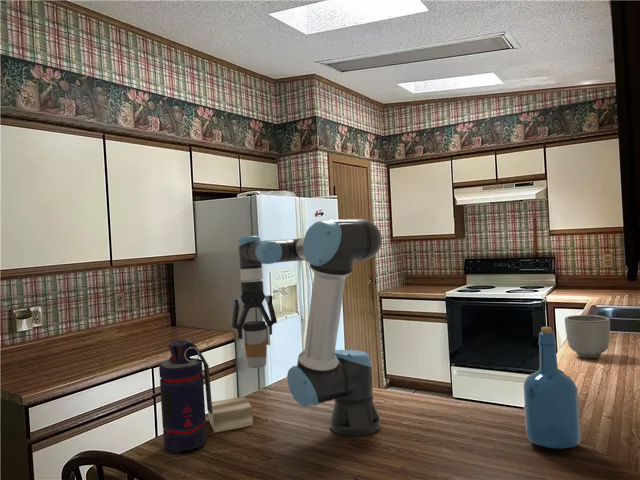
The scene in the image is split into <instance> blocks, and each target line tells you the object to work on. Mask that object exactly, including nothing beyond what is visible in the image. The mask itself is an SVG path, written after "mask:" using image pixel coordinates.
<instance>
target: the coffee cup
mask: <svg viewBox="0 0 640 480" xmlns="http://www.w3.org/2000/svg"><path fill="white" fill-rule="evenodd" d="M266 325H267V324H266V322H265V320H252V321H251V320H250V321H247V322H246V321H245V322H244V325H243V327H242V329H244V331H245V347H246V349H245V356H246V361H247V362H246V363H247V366H248V368H250V369H261V368H263V367H265V366H266V365H267V348H268V347H267V346H268V345H267V339H266V329H267V327H266Z"/></svg>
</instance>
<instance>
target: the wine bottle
mask: <svg viewBox="0 0 640 480" xmlns="http://www.w3.org/2000/svg"><path fill="white" fill-rule="evenodd" d="M540 329H541V330H540V332H538V334H539V335H538V343H537V344H538V345H539V369H538V370H537V371H535V372H533V373H530V374H528V376H526V378H525V379H524V382H523V397H524V399H523V400H524V401H523V402H524V417H525V418H524V420H525V433H526V437H527V438H528V441H530V442H531V443H534V444H535V445H537V446H541V447H545V448H547V449H561V450H563V449H568V448H574V447H576V446H577V445H578V444H579V443H580V441H581V424H580V422H581V421H580V406H579V391H578V390H579V389H578V387H577V385H576V383H575V382H574V380H573V378H572V377H571V376H569V375H567V374H565V372H564V371H563V370H561V369H559V366H558V357H557V341H556V335H555V332H553V329H552V327H551V326H541V328H540Z"/></svg>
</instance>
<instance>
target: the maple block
mask: <svg viewBox="0 0 640 480" xmlns="http://www.w3.org/2000/svg"><path fill="white" fill-rule="evenodd" d="M212 411H213V413H212V414H211V413H210V412H209V411H208V410H207V412H208V413H207V414H208V422H209V421H210V422H209V424H210V426H211V427H212V430H213V433H218V432H219V433H220V432H225V431H229V430H236V429H240V428H245V427H250V426H251V427H252V426H253V425H254V420H253V419H254V417H253V415H254V414H253V406H252V405H251V404H250V403H249V401H248V400H247V399H246V397H245V396H240V397H239V396H238V397H235V398H234V397H233V398H229V399H220V400H216V401H212Z"/></svg>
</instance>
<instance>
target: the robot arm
mask: <svg viewBox="0 0 640 480" xmlns="http://www.w3.org/2000/svg"><path fill="white" fill-rule="evenodd" d="M382 237H383V236H382V233H381V231H380V229H379V227H377V225H376V224H375V223H373V222H372V221H369V220H368V219H363V218H353V219H352V218H350V219H332V218H331V219H326V220H325V219H324V220H319V221H315V222H314V223H313V224H312V225H310V226H309V227H308V229H307V231H306V232H305V235H304V237H299V238H293V239H292V238H290V239H275V240H274V239H273V240H271V239H269V240H261V237H260V236H259V235H247V236H240V237H238V248H237V249H238V256H239V257H238V258H239V269H240V270H239V271H240V281H241V282H240V290H241V295H240V297H238V298H233V299H232V302H233V303H232V304H233V312H232V320H231V328H232V329H235V330H237V331H236V332H237V338H238V339H239V340H240V348H241V349H242V350H246V347H245V331H244V329H243V326H244V323H246V318H247V316H248V313H249V311H250V309H253V308H257V309H259V312H260V313H261V316H262V318H263V321H265V324H266V327H267V329H266V339H267V346H271V335H273V325H274V324H276V323H277V322H278V321H277V316H276V312H275V307H274V304H273V299H274V297H273V295H270V294H268V295H267V294H266V295H265V293H264V281H263V278H264V277H263V266H262V265H273V264H275V263H276V264H277V263H287V262H299V261H300V262H301V261H304V262H305V261H306V262H308V263H309V269H311V270H312V272H313V273H314V275H313V282H312V290H311V297H310V304H309V313H308V321H307V329H306V336H305V343H304V344H305V345H304V350H302V351H301V352H300V353H299V354H298V356H297V364H296V365H293V366H291V367H290V368H289V369H288V371H287V375H286V377H287V379H286V380H287V385H288V389H289V391H290V394H291V396H292V397H293V399H294V400H295V402H296V403H297V404H298V405H300V406H301V407H304V408H307V407H311V406H312V407H313V406H317V405H319V404H323V403H325V402H330V401H333V400H334V404H333V408H332V412H331V417H330V422H329V424H330V430H331V431H332V432H333V433H335V434H336V435H340V436H345V437H346V436H347V437H360V436H367V435H371V434H373V433H376V432H378V431H379V430H380V429H381V418H380V415H379V413H378V411H377V407H376V405H375V402H374V395H373V394H374V393H373V376H372V375H373V373H372V368H373V367H372V362H371V356H370V354H369V353H368V352H366V351H362V350H356V349H337V350H336V346H337V340H338V332H339V326H340V325H339V324H340V319H341V318H340V317H341V311H342V305H343V298H344V290H345V284H346V278H347V277H348V276H350V275H352V273H353V270H354V269H353V268H354V263H355V262H356V263H357V262H362V261H367V260H369V259H371V258H374V256H376V255H377V254H378V252H379V251H380V249H381V247H382V243H383V242H382V241H383V240H382V239H383V238H382ZM264 300H265V302H266V306H267V310H268V312H269V314H268V312H267V311H266V308H265V306H264V304H263V303H264ZM241 303H243V307H242V312H241V315H240V318H239V312H240V305H241Z"/></svg>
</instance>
